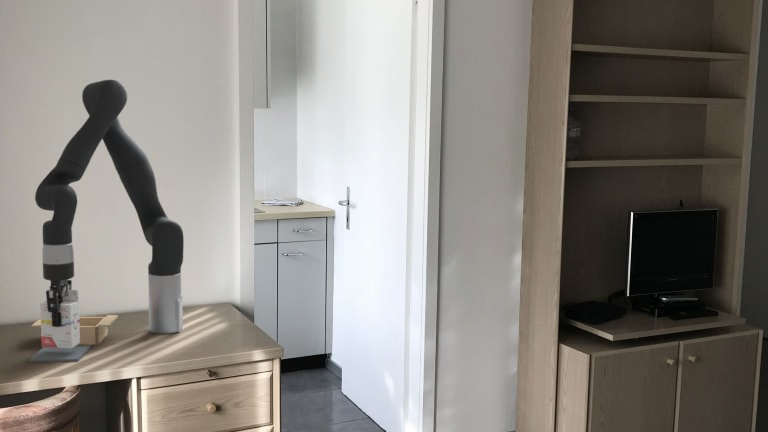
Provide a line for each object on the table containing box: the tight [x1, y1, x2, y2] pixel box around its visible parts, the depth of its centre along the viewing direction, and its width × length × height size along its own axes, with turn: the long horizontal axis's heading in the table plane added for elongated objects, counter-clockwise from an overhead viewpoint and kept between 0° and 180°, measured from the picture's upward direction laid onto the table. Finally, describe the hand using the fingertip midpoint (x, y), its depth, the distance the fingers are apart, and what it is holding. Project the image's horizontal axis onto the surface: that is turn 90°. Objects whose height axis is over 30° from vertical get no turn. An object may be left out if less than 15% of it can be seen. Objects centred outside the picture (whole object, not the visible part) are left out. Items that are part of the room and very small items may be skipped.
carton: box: [31, 314, 119, 346], centre depth 222 cm, size 21×11×6 cm, turn 96°
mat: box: [29, 345, 92, 363], centre depth 208 cm, size 12×12×1 cm
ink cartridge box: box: [40, 289, 80, 348], centre depth 207 cm, size 9×5×15 cm, turn 84°
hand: (60, 323), depth 207 cm, fingers closed on ink cartridge box, 5 cm apart
